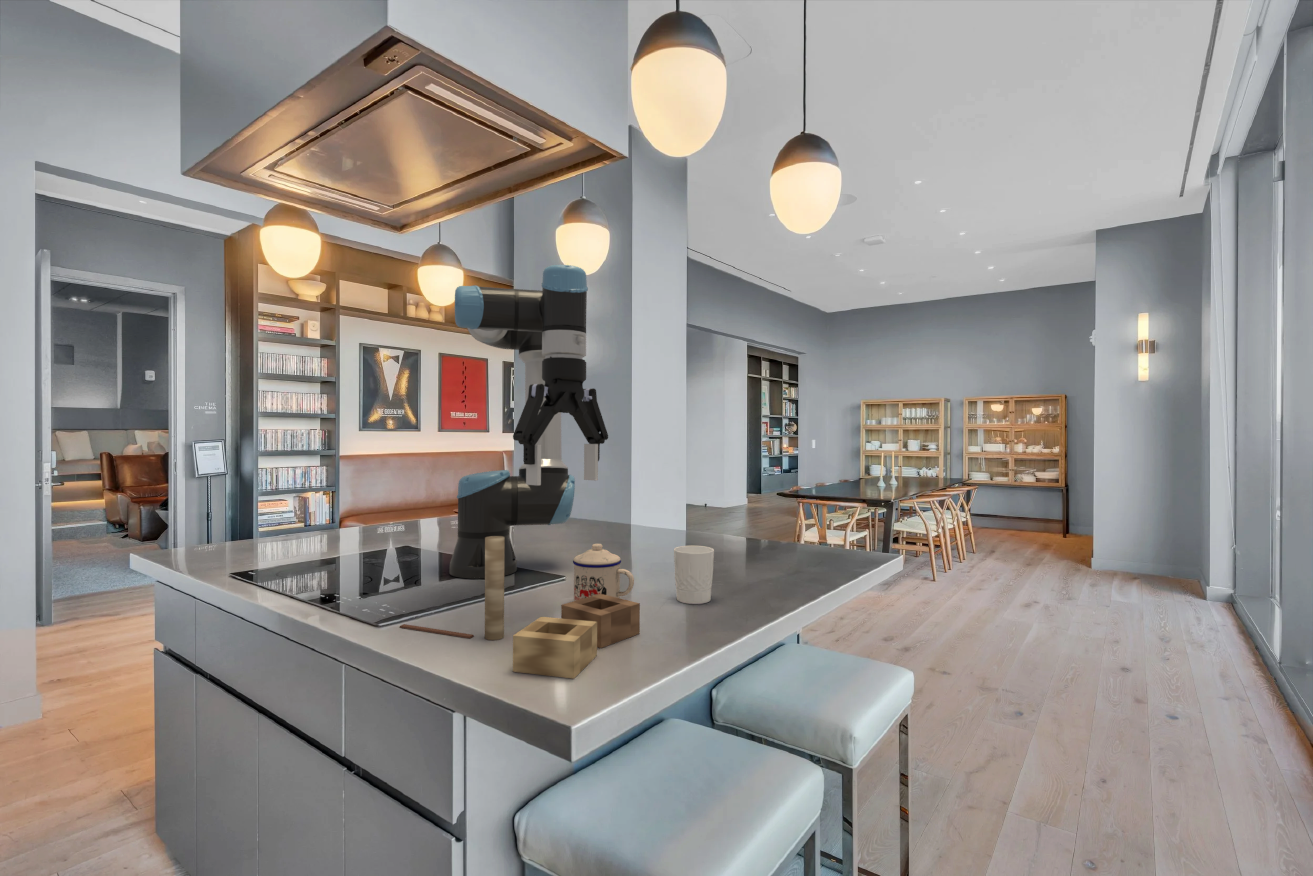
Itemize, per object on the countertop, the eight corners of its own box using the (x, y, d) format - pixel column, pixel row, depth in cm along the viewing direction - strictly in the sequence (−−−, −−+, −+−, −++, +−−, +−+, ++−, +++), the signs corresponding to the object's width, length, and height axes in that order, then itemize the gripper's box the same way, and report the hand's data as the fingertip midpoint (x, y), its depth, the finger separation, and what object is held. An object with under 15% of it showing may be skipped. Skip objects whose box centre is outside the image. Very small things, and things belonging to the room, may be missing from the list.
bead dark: (561, 635, 101) (561, 604, 101) (600, 622, 108) (600, 593, 108) (600, 648, 96) (601, 615, 96) (639, 633, 103) (639, 603, 102)
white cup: (714, 605, 119) (715, 553, 119) (673, 605, 120) (674, 552, 119) (712, 594, 127) (712, 545, 127) (673, 594, 127) (673, 545, 127)
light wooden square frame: (512, 671, 86) (513, 635, 86) (540, 649, 95) (541, 616, 95) (573, 678, 84) (574, 641, 84) (596, 655, 93) (597, 621, 92)
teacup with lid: (564, 609, 116) (564, 546, 116) (585, 597, 124) (586, 538, 124) (623, 616, 112) (624, 551, 112) (642, 603, 120) (642, 543, 120)
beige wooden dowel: (480, 637, 100) (481, 537, 100) (496, 632, 102) (496, 535, 102) (492, 641, 98) (492, 539, 98) (507, 636, 100) (508, 537, 100)
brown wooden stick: (399, 627, 105) (399, 625, 105) (404, 625, 106) (404, 624, 106) (469, 638, 99) (469, 636, 99) (473, 636, 100) (473, 634, 100)
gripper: (522, 348, 95) (521, 488, 95) (627, 363, 115) (627, 479, 115) (490, 352, 99) (490, 485, 100) (597, 366, 119) (596, 477, 119)
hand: (563, 482), depth 107 cm, fingers open, 13 cm apart
